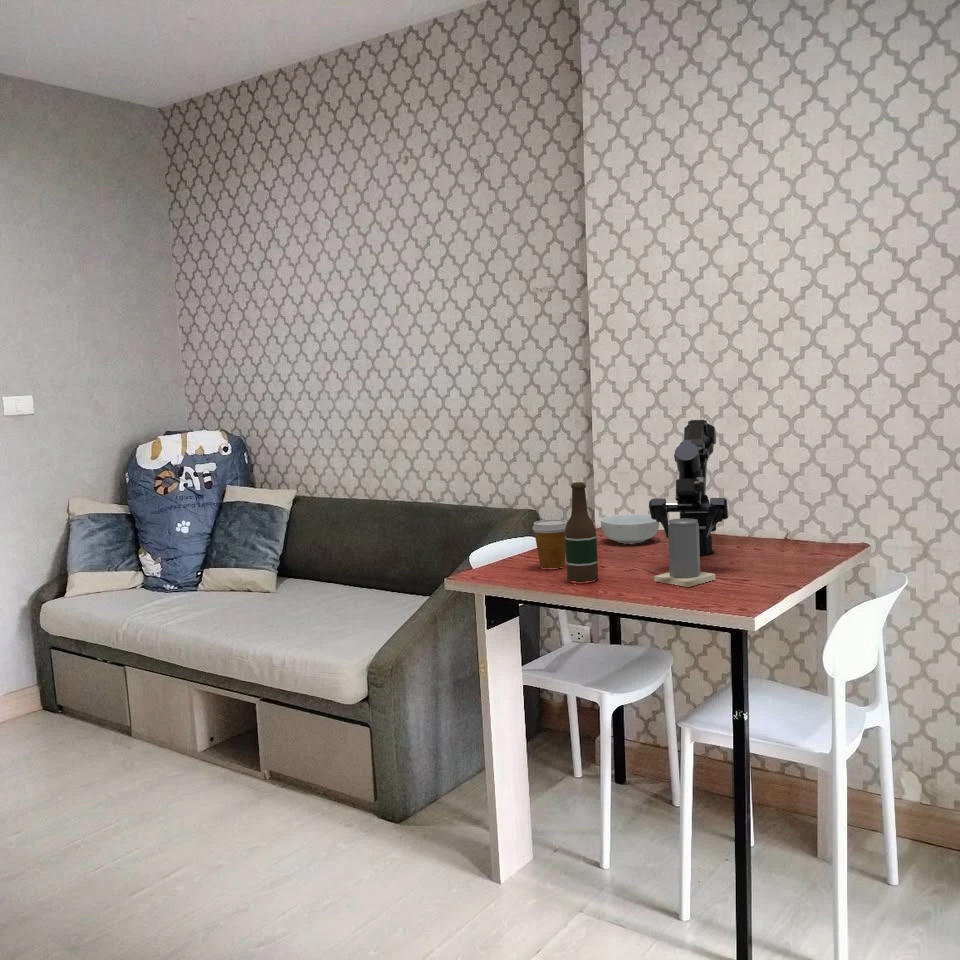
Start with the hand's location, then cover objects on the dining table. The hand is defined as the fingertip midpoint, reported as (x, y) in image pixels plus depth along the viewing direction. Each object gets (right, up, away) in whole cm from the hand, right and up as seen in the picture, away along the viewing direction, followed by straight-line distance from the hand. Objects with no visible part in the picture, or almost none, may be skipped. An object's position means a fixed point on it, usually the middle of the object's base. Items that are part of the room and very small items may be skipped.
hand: (686, 537), depth 229 cm
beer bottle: (-25, -11, +2) cm, 27 cm away
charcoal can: (-2, -9, -5) cm, 10 cm away
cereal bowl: (-6, -5, +48) cm, 48 cm away
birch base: (-2, -10, -5) cm, 11 cm away
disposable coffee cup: (-31, -9, +19) cm, 37 cm away
